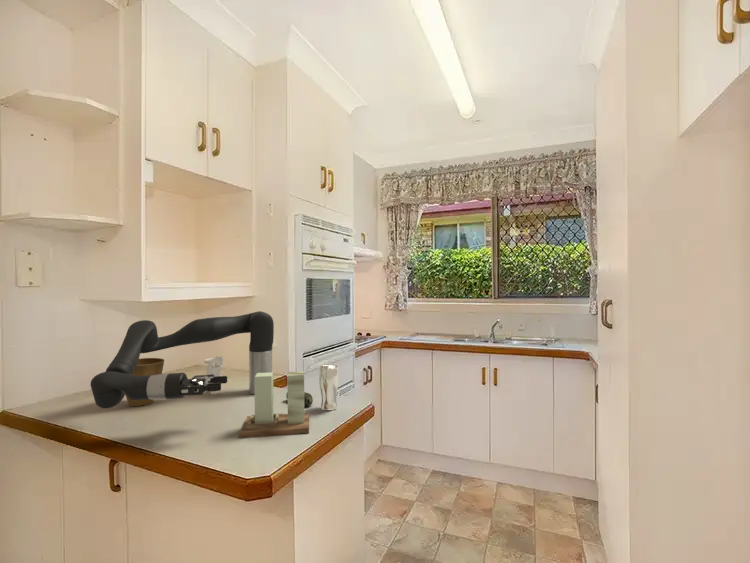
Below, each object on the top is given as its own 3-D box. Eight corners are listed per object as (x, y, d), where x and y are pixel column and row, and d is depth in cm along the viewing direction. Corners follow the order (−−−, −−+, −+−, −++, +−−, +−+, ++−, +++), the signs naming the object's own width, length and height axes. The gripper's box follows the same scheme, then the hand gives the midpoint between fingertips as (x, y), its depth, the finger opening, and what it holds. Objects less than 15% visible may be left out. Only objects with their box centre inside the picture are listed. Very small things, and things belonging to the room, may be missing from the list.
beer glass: (320, 412, 134) (320, 369, 134) (318, 406, 141) (318, 365, 141) (340, 410, 136) (340, 368, 136) (337, 404, 143) (336, 364, 143)
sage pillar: (257, 419, 123) (257, 372, 123) (273, 419, 123) (273, 372, 124) (254, 425, 118) (254, 376, 118) (271, 424, 119) (271, 376, 119)
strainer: (218, 395, 155) (218, 358, 155) (201, 395, 155) (201, 358, 155) (225, 390, 162) (225, 354, 162) (209, 390, 162) (209, 354, 162)
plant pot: (126, 413, 134) (126, 367, 134) (112, 404, 144) (112, 361, 144) (170, 402, 146) (170, 360, 146) (155, 395, 155) (155, 355, 155)
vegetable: (283, 401, 147) (283, 388, 147) (295, 398, 151) (295, 385, 151) (304, 409, 138) (304, 395, 138) (316, 406, 141) (316, 392, 141)
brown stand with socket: (247, 420, 126) (247, 370, 126) (309, 417, 129) (309, 368, 129) (239, 437, 112) (239, 381, 112) (308, 433, 116) (308, 378, 116)
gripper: (158, 379, 109) (218, 376, 111) (175, 368, 123) (228, 365, 125) (158, 406, 109) (219, 402, 111) (175, 392, 123) (229, 388, 125)
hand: (224, 383), depth 118 cm, fingers open, 8 cm apart
